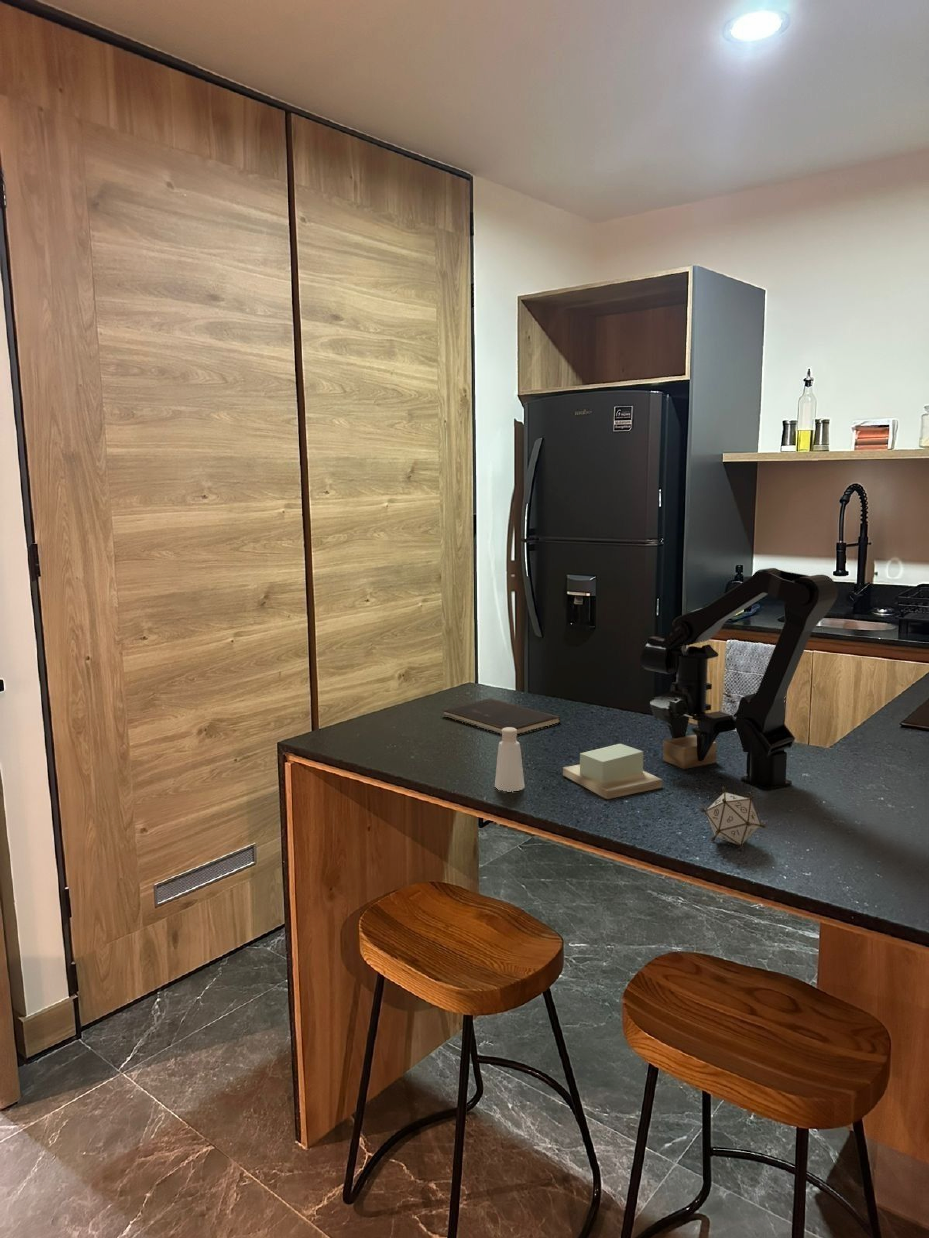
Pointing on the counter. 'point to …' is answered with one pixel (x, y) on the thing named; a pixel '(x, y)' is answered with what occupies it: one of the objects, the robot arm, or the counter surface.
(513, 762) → the salt shaker
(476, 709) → the hardcover book
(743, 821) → the game die
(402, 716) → the counter surface
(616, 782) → the birch board
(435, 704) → the counter surface
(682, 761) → the walnut block
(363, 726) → the counter surface
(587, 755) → the green block
